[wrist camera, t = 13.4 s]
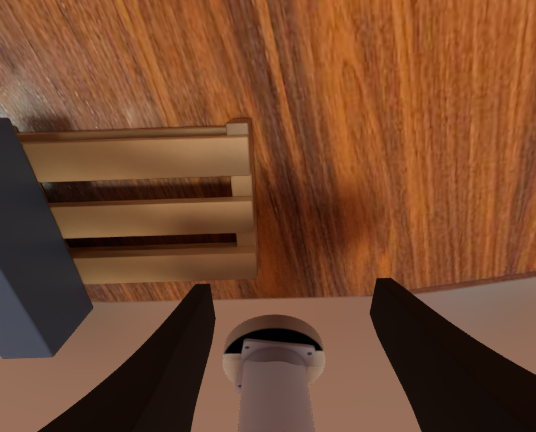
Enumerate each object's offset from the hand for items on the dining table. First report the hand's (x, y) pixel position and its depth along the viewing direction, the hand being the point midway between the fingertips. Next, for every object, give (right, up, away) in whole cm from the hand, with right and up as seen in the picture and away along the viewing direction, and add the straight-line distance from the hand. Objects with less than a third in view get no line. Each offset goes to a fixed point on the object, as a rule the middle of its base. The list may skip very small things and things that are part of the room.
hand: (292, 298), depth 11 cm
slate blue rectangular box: (-16, +3, +3) cm, 16 cm away
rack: (-10, +5, +7) cm, 13 cm away
